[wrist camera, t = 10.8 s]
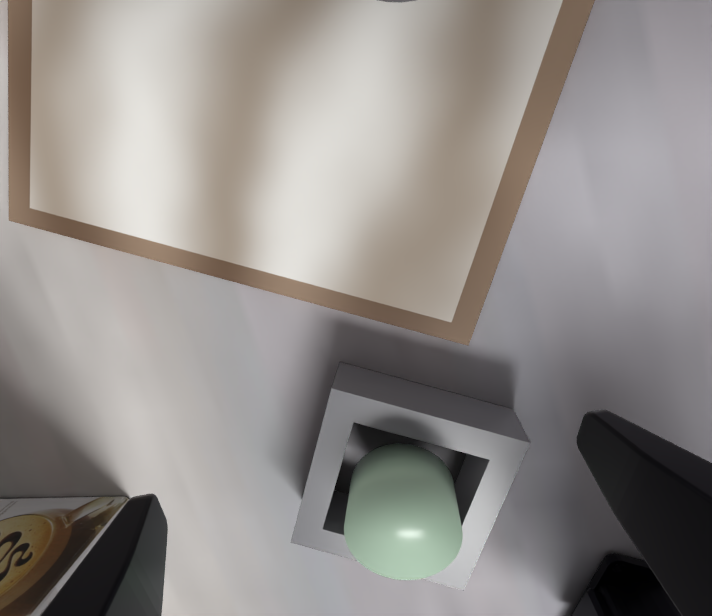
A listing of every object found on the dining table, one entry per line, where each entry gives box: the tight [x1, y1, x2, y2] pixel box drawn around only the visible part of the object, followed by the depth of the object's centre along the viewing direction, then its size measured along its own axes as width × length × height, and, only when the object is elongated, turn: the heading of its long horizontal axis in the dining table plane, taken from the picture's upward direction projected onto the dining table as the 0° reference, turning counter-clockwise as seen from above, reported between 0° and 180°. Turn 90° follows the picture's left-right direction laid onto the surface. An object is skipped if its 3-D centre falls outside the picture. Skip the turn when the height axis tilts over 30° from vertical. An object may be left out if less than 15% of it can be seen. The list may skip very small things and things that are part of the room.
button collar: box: [291, 362, 530, 591], centre depth 19 cm, size 8×8×2 cm
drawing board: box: [8, 0, 595, 345], centre depth 15 cm, size 20×19×1 cm
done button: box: [344, 444, 463, 580], centre depth 17 cm, size 4×4×2 cm
